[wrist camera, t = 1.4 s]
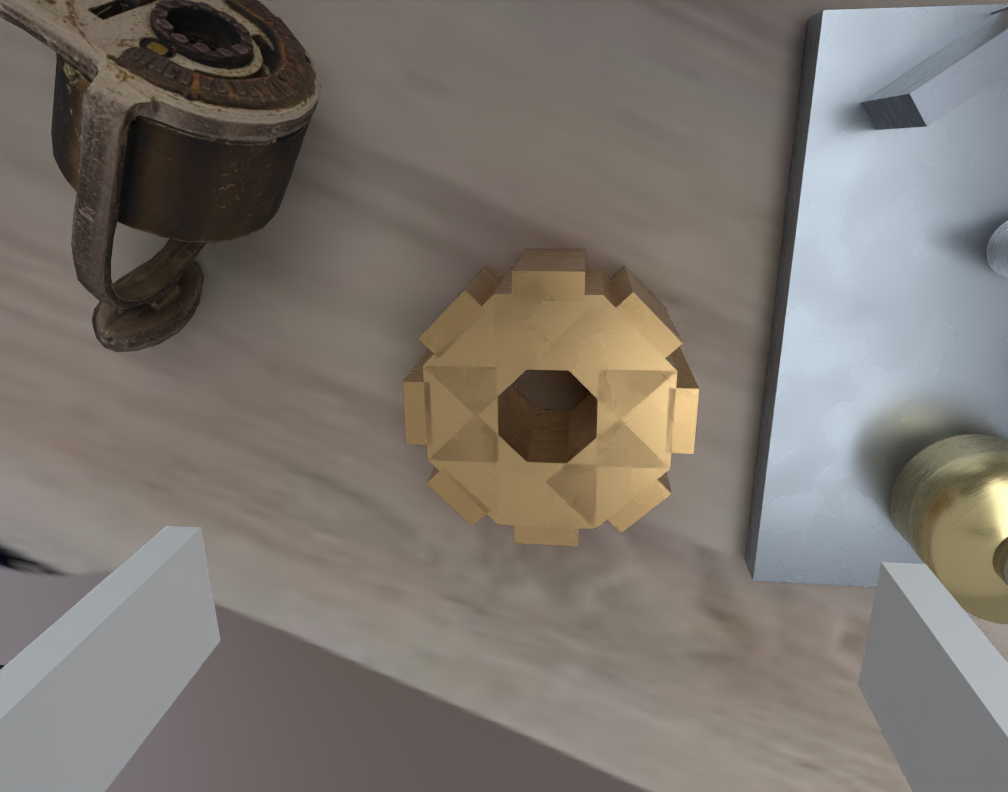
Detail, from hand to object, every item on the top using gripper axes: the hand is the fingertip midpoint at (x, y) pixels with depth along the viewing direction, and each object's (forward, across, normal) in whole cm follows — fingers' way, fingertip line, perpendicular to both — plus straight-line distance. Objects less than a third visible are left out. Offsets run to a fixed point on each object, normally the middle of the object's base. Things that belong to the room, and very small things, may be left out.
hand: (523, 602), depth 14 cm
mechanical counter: (+15, -11, +7) cm, 20 cm away
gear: (+14, 0, 0) cm, 15 cm away
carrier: (+15, +15, +2) cm, 21 cm away
